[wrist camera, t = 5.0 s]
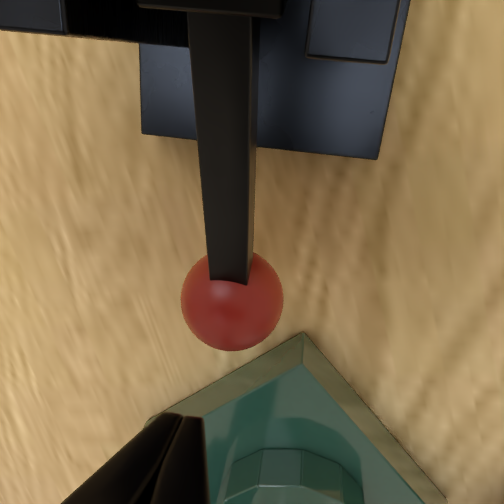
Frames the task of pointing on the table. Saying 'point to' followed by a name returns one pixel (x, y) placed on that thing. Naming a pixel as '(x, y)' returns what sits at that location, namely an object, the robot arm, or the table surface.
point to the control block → (300, 437)
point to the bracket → (270, 66)
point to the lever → (227, 173)
